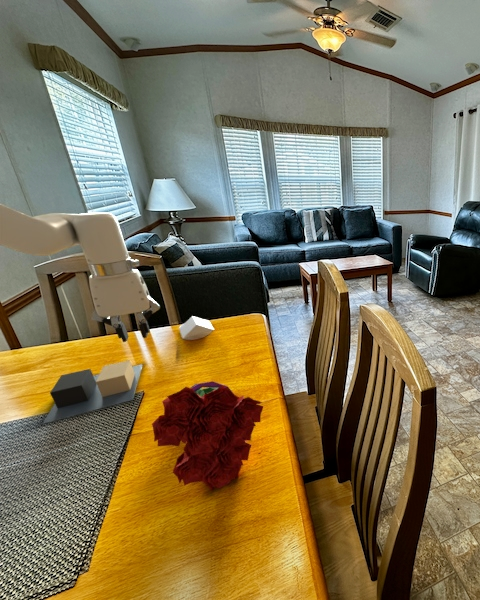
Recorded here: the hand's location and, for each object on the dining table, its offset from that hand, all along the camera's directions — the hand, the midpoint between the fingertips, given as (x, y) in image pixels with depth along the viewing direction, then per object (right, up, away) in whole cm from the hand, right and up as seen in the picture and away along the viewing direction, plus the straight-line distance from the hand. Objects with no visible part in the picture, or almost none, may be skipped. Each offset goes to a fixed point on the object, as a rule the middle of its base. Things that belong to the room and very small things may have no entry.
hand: (135, 337), depth 83 cm
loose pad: (-6, -13, +2) cm, 14 cm away
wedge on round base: (-2, -3, +29) cm, 29 cm away
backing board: (-9, -14, 0) cm, 17 cm away
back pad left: (-13, -14, -2) cm, 19 cm away
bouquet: (+27, -20, -14) cm, 36 cm away
